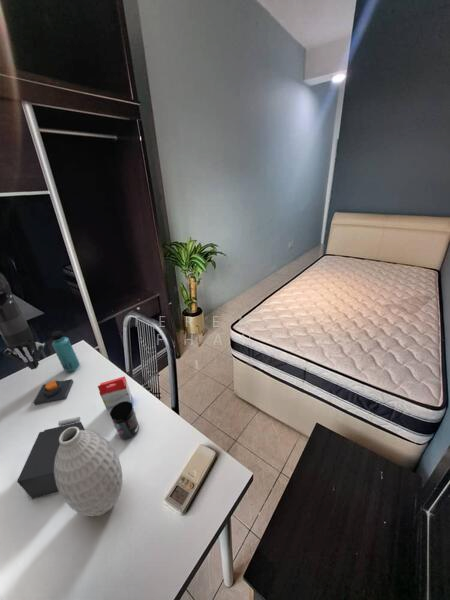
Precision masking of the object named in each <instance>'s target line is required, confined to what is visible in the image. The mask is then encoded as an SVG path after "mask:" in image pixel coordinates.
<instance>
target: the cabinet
mask: <svg viewBox="0 0 450 600" xmlns="http://www.w3.org/2000/svg"><path fill="white" fill-rule="evenodd" d="M81 423H82V422H81ZM81 423H79V424H74V423H73V424H74V425H70V426H65V425H64V426H65V427H61V428H56V427H55V428H56V429H52V430H47V429H46V430H47V431H44V430H42V431H40V432H38V435H37V437H36V439H35V441H34V442H33V445H32V448H31V449H30V452H29V454H28V457H27V458H26V460H25V463H24V465H23V467H22V469H21V472H20V474H19V476H18V478H17V480H16V482H17V484H19V486H20V487H21V488H22V489H23V490H24V491H25V493H26V494H27V495H28V496H29V497H30V499H31V500H35V499H38V498H43V497H45V496H49V495H54V494H57V493H60V492H59V491H58V488H57V485H56V482H55V477H54V461H55V456H56V453H57V450H58V448H59V445H60V443H59V437H60V435H61V434H62V432H63V431H65V430H66V429H68V428H70V427H77V428H79V430H84V429H85V427H84V425H83V423H82V424H81ZM82 425H83V426H82ZM83 427H84V428H83Z"/></svg>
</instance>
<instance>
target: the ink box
mask: <svg viewBox="0 0 450 600" xmlns="http://www.w3.org/2000/svg"><path fill="white" fill-rule="evenodd" d="M97 389H98V392H99V395H100V398H101V400H102V402H103V405H104V407H105V409H106V411H107V413H108V414H107V415H109V416H110V412H111V410H112V408H113V407H114V406H115V405H117V404H118V403H120V402H124V401H127V402H130V403H131V404H132V406H133V407H134V401H133V396H132V393H131V390H130V386H129V384H128V381H127V379H126V376H121V377H116V378H114V379H110V380H107V381H104V382H100V383H99V384H98V385H97Z"/></svg>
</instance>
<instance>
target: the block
mask: <svg viewBox="0 0 450 600" xmlns="http://www.w3.org/2000/svg"><path fill="white" fill-rule="evenodd" d="M54 381H55V382H56V383H57V388H55V389H54V390H52V391H47V389H46V388H45V386H46V384H47V383H45V384H42V386H41V387H40V389H39V391H38V393H37V395H36V396H35V399H34V400H33V402H32V403H33V405H34V406H39V405H40V406H41V405H45V404H49V403H53V402H58V401H64V400H67V399H68V396H69V393H70V391H71V389H72V387H73V384H74V380H73V378H71V379H70V378H69V379H65V380H54Z"/></svg>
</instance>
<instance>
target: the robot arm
mask: <svg viewBox="0 0 450 600" xmlns="http://www.w3.org/2000/svg"><path fill="white" fill-rule="evenodd" d="M0 336H1V338H2V340H3V341H4V343H5V344H6V345H7V348H6V349H5V350H4V351H3V352H2V355H3V356H6V357H8V358H10V359H12V360H14V361H16V362H18V363H22V362H24V363H26V365H27V367H28V368H29V369H30V370H35V369H36V370H37V369H38V367H39V365H40V362H39V361H38V359H39V357H40V356H41V354H42V353H43V350H44V349H45V347H46V346H47V343H46V342H45V341H44V342H42V343H41V342H39V341H38V340H37V339H35V337H34V334H33V332H32V330H31V328H30V325H29V323H28V321H27V320H26V317H25V316H24V315H23V313H22V311H21V309H20V307H19V305H18V303H17V301H16V300H15V298H14V295H13V292H12V289H11V286H10V284H9V281H8V279H7V277H6V276H5V275H4V273H3V272H1V271H0ZM35 349H36V350H37V351H36V350H35Z"/></svg>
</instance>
